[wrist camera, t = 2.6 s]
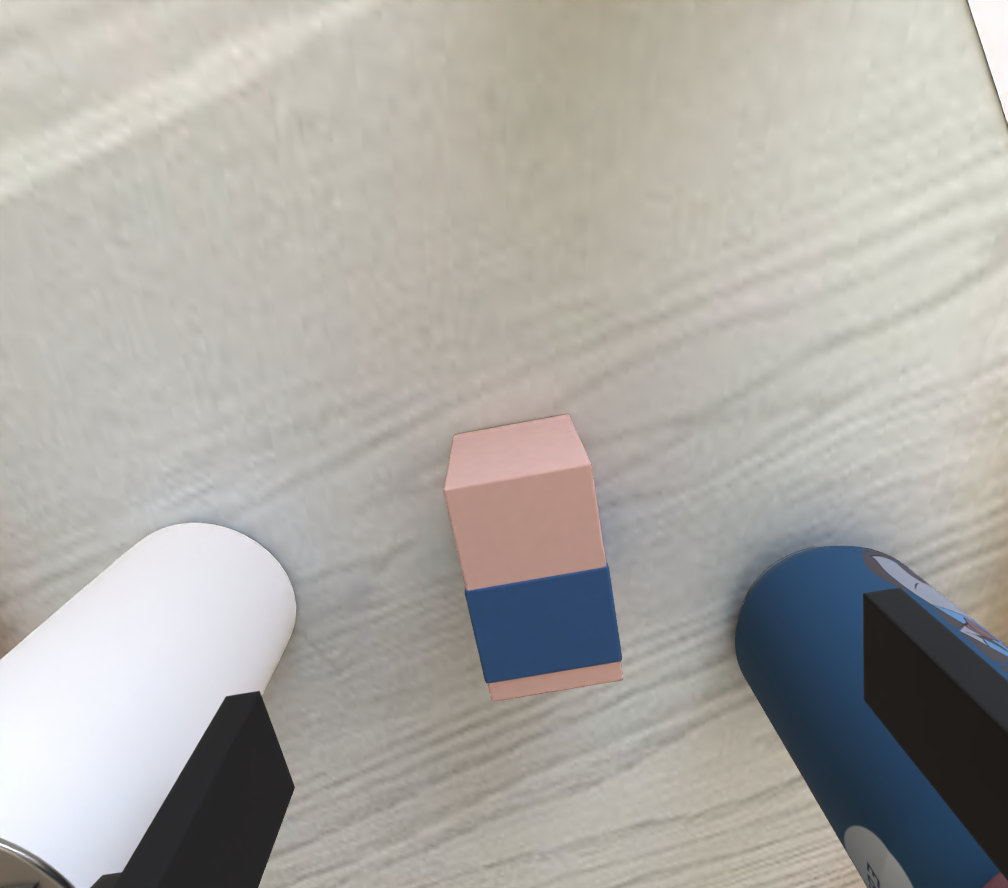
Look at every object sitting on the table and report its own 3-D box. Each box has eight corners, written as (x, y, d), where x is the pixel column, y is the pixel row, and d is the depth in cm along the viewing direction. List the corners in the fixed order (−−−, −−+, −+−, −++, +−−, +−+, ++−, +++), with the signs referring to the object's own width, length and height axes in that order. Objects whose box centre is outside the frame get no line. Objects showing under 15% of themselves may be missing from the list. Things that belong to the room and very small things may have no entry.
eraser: (489, 609, 24) (489, 704, 19) (451, 434, 22) (440, 490, 17) (598, 590, 24) (626, 682, 19) (570, 412, 21) (593, 463, 17)
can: (97, 529, 22) (-311, 831, 11) (276, 505, 22) (52, 788, 11) (152, 680, 24) (-145, 1069, 13) (317, 659, 24) (165, 1033, 13)
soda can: (717, 692, 25) (906, 1071, 14) (728, 534, 23) (963, 828, 12) (890, 683, 25) (1223, 1052, 14) (918, 524, 23) (1339, 807, 12)
